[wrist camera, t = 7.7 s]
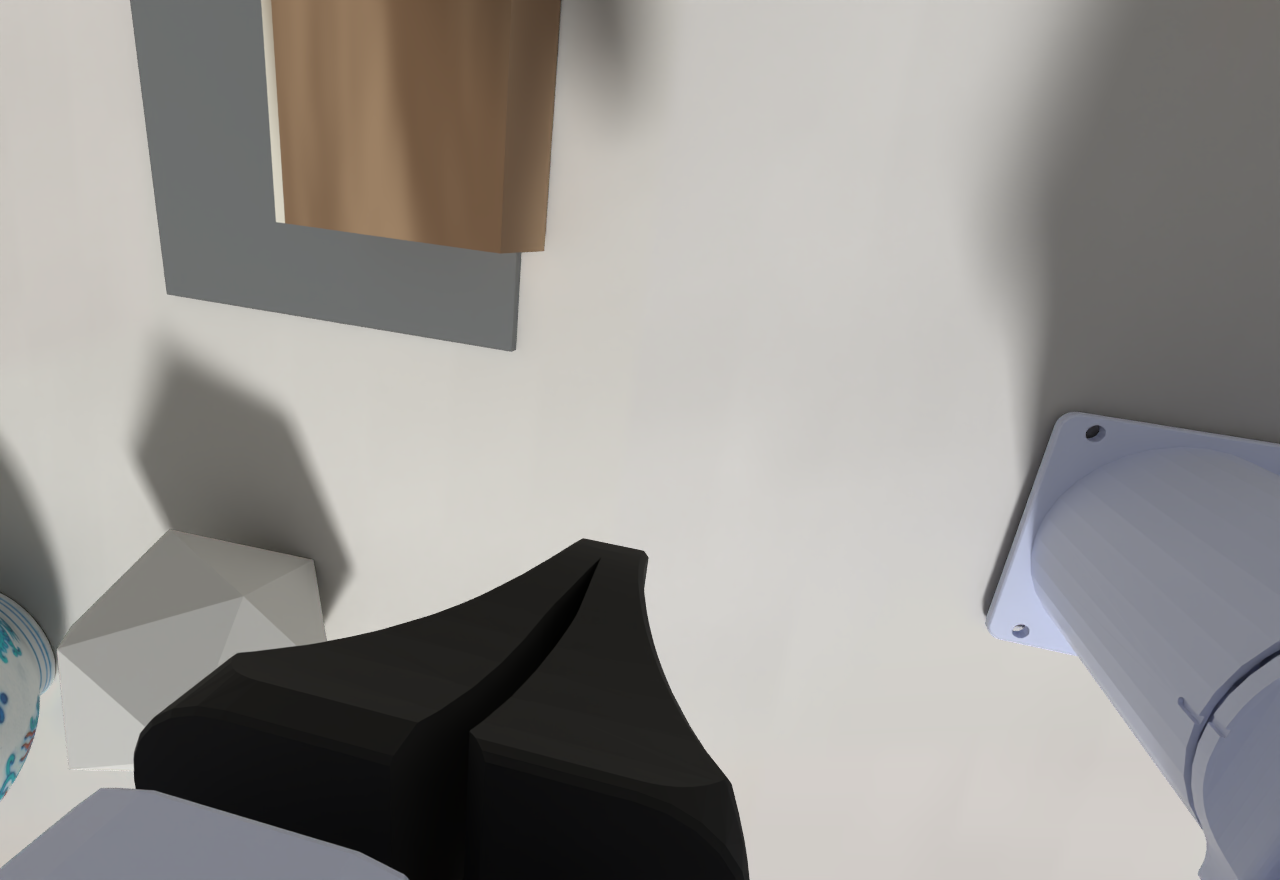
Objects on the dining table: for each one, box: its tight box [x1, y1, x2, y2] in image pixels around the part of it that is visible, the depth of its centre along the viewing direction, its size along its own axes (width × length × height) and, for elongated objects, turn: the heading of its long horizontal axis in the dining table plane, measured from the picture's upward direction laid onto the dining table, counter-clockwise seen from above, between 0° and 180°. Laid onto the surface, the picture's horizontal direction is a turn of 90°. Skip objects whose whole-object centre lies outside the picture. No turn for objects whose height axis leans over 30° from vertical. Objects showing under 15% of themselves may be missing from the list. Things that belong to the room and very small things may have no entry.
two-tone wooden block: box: [261, 0, 561, 254], centre depth 18 cm, size 4×9×7 cm
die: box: [57, 529, 327, 771], centre depth 24 cm, size 8×9×10 cm
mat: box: [130, 0, 521, 352], centre depth 21 cm, size 14×16×1 cm
